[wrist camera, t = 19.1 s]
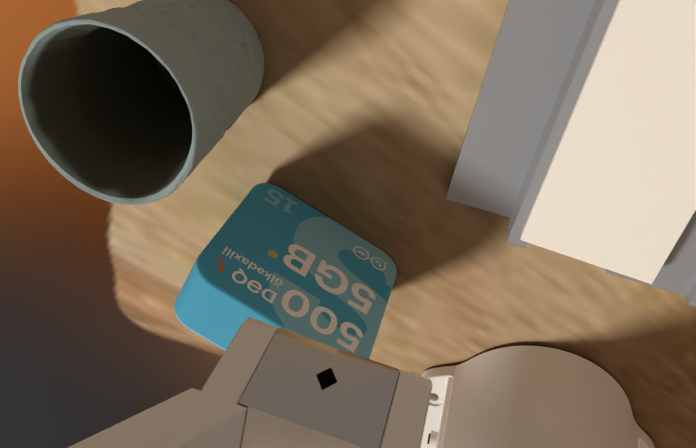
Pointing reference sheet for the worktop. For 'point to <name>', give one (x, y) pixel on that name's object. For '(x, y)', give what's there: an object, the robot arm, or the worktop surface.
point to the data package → (287, 276)
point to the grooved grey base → (541, 119)
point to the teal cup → (139, 93)
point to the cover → (627, 147)
